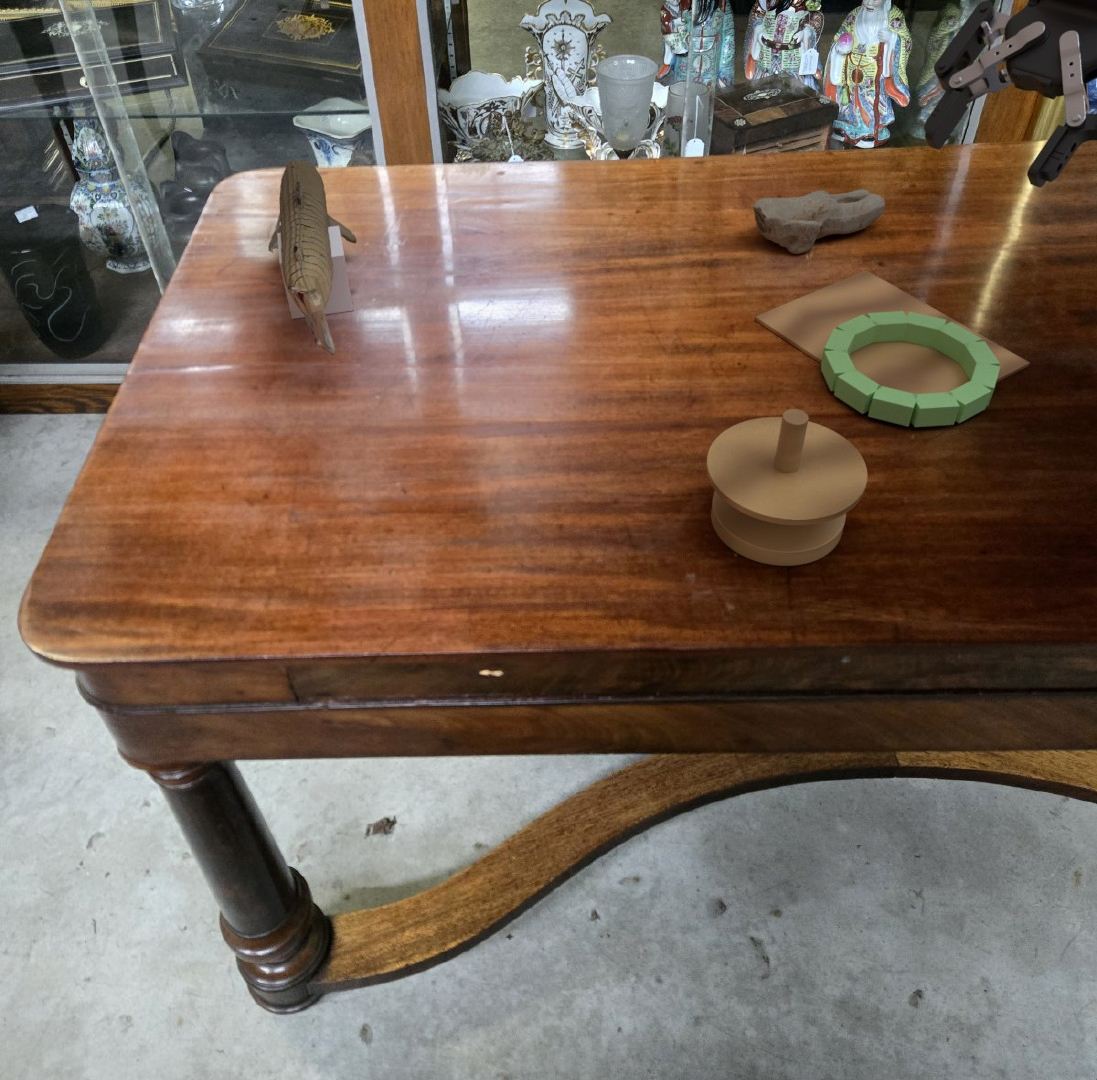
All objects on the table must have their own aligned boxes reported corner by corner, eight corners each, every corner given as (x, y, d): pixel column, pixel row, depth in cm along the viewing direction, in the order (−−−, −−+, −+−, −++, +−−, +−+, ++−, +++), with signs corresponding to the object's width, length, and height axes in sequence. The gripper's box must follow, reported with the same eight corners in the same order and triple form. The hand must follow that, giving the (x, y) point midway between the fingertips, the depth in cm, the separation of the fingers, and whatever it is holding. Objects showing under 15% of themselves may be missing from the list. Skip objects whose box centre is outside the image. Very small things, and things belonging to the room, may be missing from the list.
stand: (885, 532, 79) (916, 428, 72) (771, 597, 74) (792, 493, 67) (780, 452, 86) (798, 350, 79) (670, 507, 81) (679, 404, 74)
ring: (1027, 386, 91) (1034, 367, 89) (913, 448, 85) (919, 429, 84) (899, 313, 100) (904, 294, 98) (788, 364, 94) (791, 346, 92)
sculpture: (845, 211, 117) (733, 230, 112) (858, 171, 113) (742, 188, 108) (884, 243, 112) (769, 264, 107) (899, 201, 109) (780, 221, 104)
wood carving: (284, 423, 90) (256, 311, 82) (270, 231, 114) (248, 131, 106) (387, 408, 91) (369, 296, 83) (352, 221, 115) (336, 121, 107)
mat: (1028, 366, 94) (1030, 362, 93) (913, 425, 88) (914, 421, 88) (865, 273, 106) (865, 269, 105) (754, 319, 100) (754, 316, 100)
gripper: (1019, -99, 74) (885, 106, 77) (1219, -59, 66) (1062, 168, 69) (1037, -32, 80) (912, 156, 83) (1223, 12, 72) (1078, 219, 75)
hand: (980, 161), depth 76 cm, fingers open, 8 cm apart
